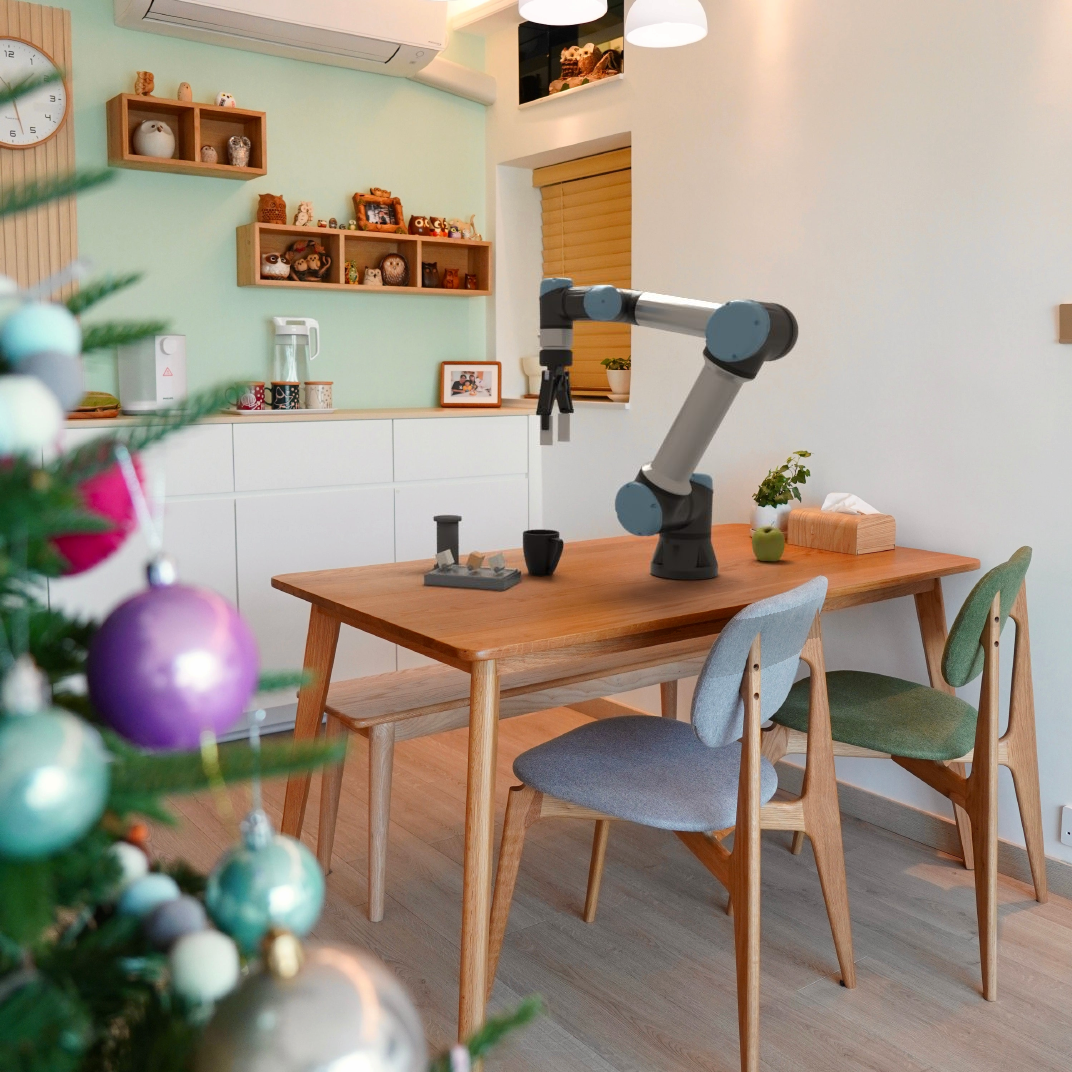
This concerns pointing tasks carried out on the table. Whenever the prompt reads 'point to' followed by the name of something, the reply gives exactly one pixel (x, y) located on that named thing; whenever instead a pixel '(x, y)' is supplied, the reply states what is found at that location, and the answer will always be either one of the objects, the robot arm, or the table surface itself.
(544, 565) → the mug
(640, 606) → the table surface
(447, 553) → the paddle
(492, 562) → the paddle
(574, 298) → the robot arm
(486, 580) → the breaker strip
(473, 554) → the paddle mid
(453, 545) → the dark grey flanged cylinder
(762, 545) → the apple
